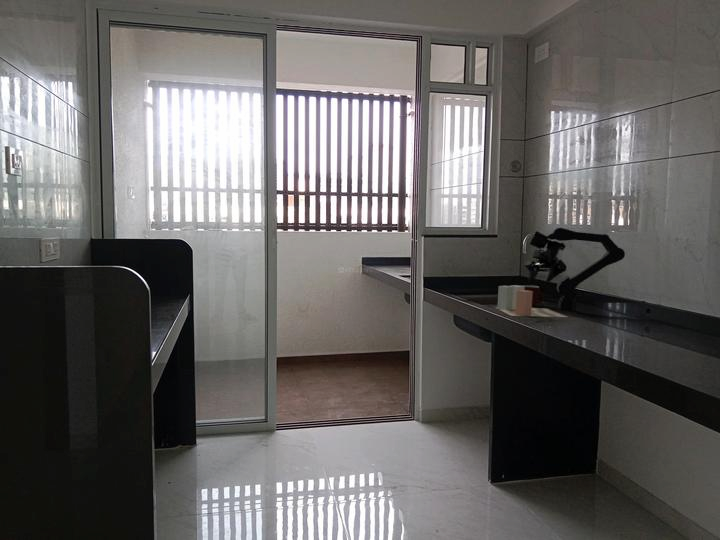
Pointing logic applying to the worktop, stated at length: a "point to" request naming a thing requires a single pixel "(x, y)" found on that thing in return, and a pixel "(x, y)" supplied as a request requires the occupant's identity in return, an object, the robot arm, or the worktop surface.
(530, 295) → the terracotta block
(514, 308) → the cream block
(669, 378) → the worktop surface
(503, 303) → the sage block
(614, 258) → the robot arm
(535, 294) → the mug
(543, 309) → the maple board
